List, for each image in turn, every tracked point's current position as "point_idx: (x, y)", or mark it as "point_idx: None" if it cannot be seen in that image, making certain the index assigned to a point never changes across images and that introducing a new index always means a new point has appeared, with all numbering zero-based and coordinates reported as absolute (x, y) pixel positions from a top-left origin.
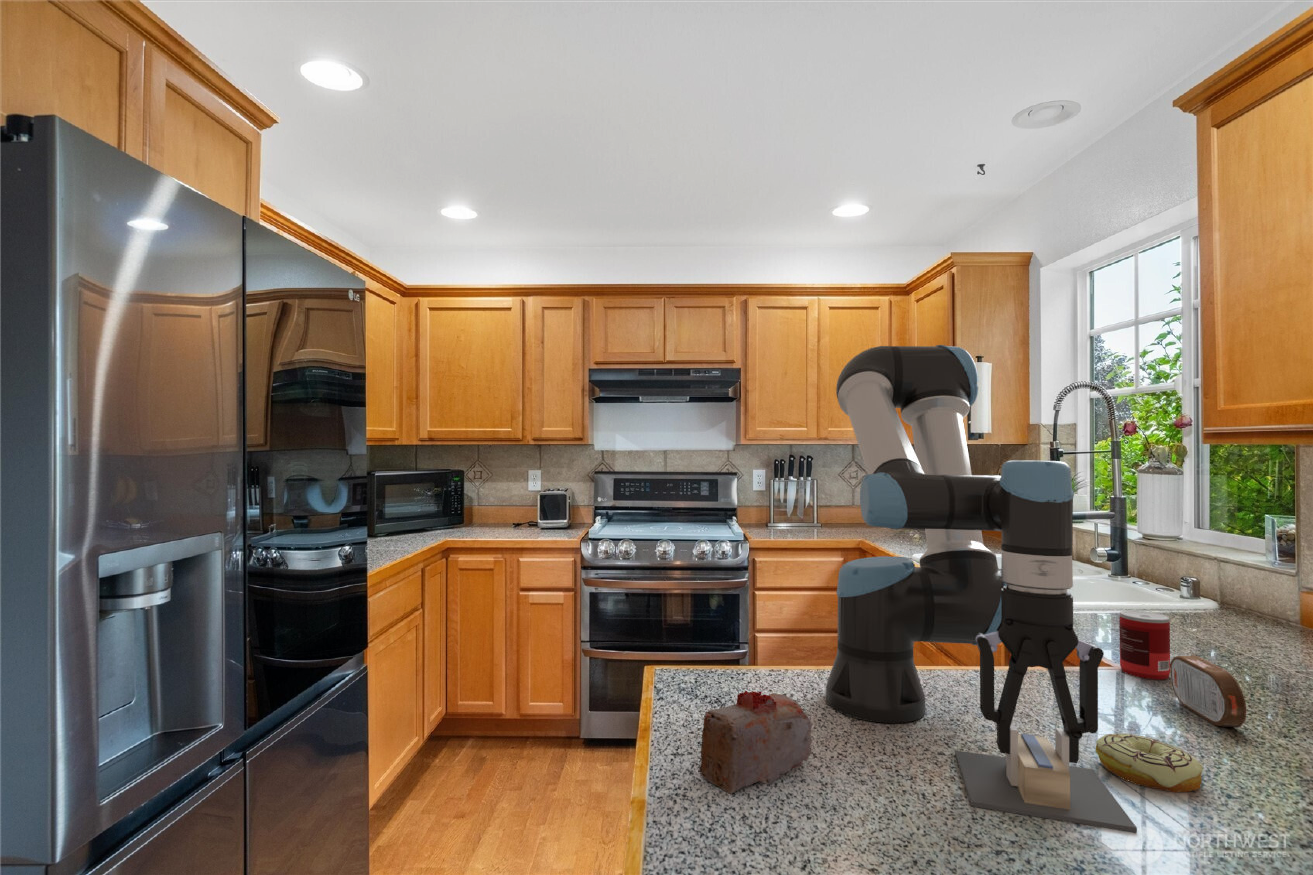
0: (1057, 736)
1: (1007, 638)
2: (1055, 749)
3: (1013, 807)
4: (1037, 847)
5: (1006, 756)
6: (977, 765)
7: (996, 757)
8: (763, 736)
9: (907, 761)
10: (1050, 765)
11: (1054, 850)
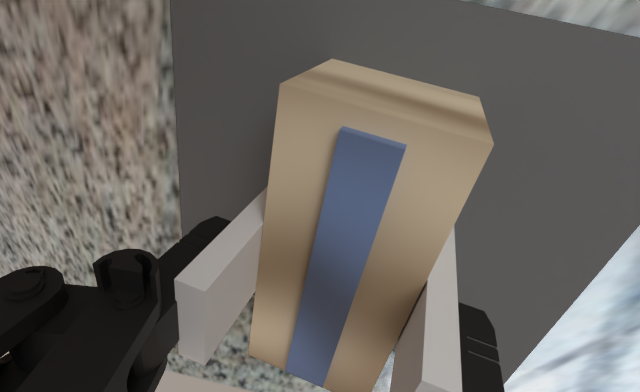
0: (408, 373)
1: None
2: (427, 285)
3: None
4: (266, 367)
5: (262, 191)
6: (225, 82)
7: None
8: None
9: (55, 43)
10: (317, 382)
11: (289, 377)
